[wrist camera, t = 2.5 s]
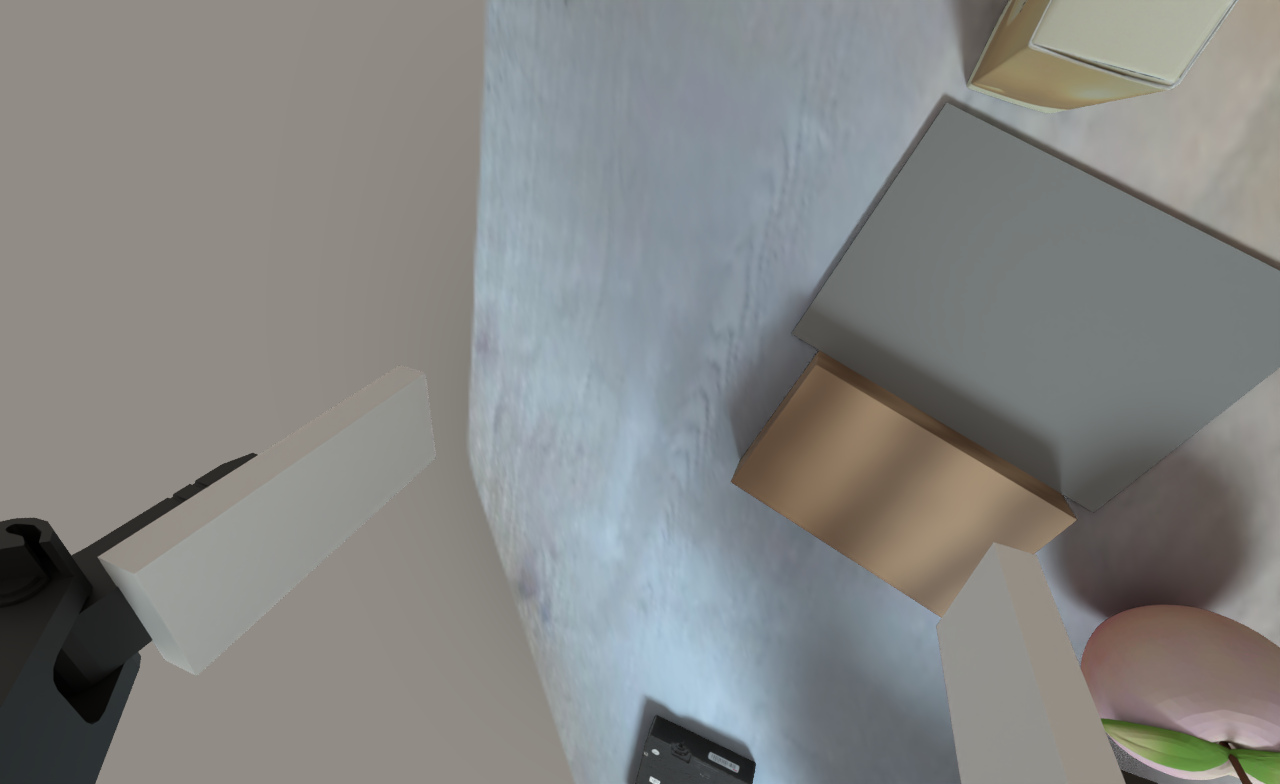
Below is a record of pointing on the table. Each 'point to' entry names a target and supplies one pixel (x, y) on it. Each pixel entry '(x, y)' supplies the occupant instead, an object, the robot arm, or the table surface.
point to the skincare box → (1093, 49)
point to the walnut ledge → (893, 485)
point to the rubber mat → (1045, 311)
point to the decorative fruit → (1188, 692)
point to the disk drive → (689, 759)
